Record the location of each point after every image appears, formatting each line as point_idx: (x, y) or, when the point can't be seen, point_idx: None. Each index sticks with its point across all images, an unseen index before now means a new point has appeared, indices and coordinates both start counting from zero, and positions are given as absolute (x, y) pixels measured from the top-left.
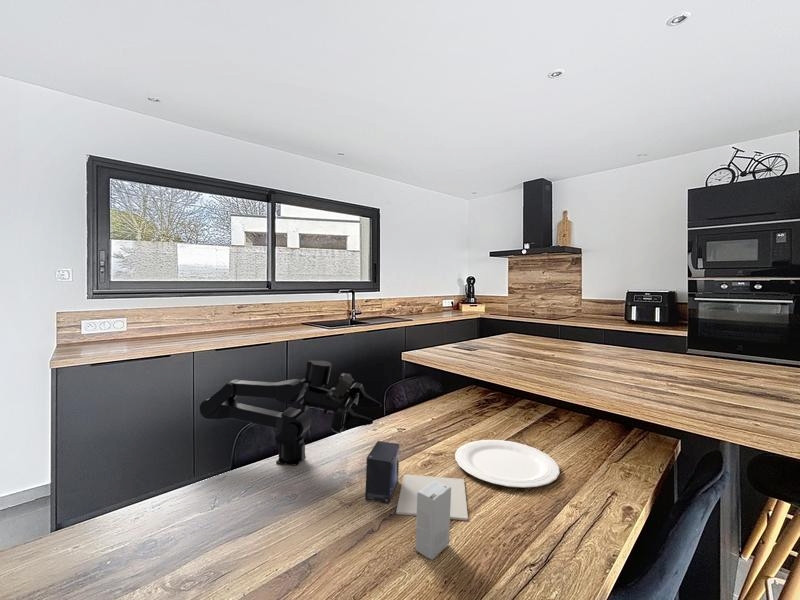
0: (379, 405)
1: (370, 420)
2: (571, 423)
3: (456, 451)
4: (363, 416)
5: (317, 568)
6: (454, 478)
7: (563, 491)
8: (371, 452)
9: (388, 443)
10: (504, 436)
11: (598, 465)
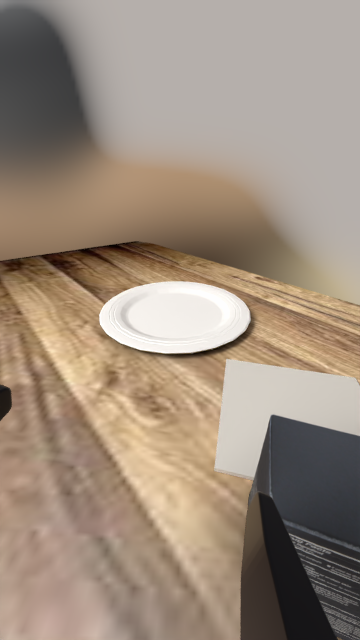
0: (3, 403)
1: (278, 520)
2: (87, 259)
3: (130, 346)
4: (300, 623)
5: None
6: (225, 370)
7: (238, 295)
8: None
9: (290, 456)
10: (88, 297)
11: (183, 270)
